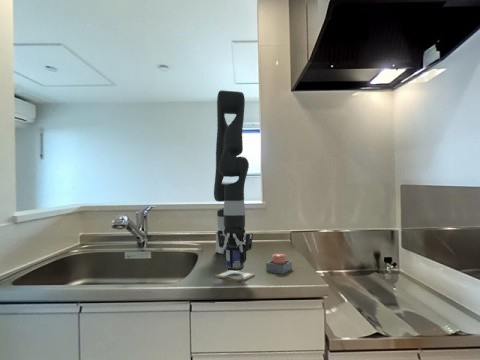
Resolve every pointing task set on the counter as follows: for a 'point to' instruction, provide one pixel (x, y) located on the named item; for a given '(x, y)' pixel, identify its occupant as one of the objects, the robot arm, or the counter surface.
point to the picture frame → (235, 276)
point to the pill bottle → (233, 256)
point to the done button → (279, 259)
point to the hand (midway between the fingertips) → (234, 261)
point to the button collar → (279, 267)
